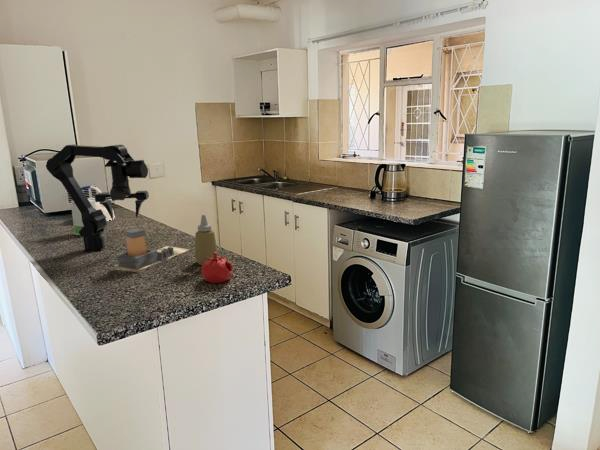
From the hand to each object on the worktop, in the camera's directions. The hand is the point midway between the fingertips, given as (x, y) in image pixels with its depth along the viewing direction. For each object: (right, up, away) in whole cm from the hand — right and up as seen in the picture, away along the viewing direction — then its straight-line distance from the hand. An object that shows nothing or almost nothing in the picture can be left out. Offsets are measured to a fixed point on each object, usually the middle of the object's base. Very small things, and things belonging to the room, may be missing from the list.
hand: (124, 218), depth 176 cm
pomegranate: (+42, -20, -32) cm, 57 cm away
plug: (+11, -16, -17) cm, 26 cm away
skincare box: (-29, -7, +31) cm, 43 cm away
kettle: (-39, 0, +59) cm, 70 cm away
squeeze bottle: (+36, -17, -17) cm, 43 cm away
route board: (+15, -15, -10) cm, 24 cm away
